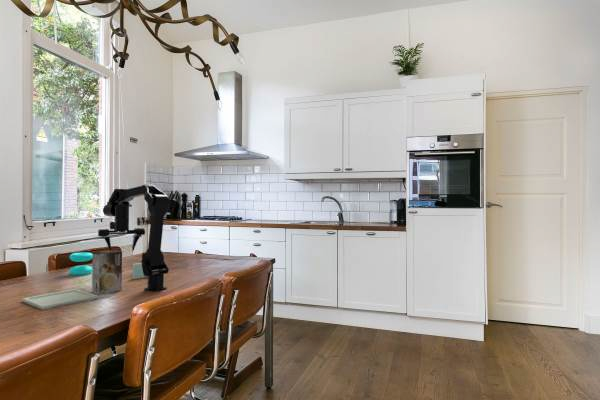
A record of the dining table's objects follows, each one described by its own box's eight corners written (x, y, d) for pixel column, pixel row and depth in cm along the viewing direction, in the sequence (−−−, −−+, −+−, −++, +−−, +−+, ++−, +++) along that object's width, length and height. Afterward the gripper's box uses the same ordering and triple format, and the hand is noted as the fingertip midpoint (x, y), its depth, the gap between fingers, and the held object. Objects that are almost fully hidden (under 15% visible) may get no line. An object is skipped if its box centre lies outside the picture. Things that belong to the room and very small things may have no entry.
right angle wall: (145, 273, 189) (145, 258, 189) (157, 276, 181) (157, 261, 181) (121, 276, 179) (122, 261, 180) (133, 280, 172) (134, 264, 172)
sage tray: (97, 298, 138) (97, 295, 138) (42, 309, 123) (42, 306, 123) (76, 291, 147) (76, 288, 147) (22, 301, 132) (22, 298, 132)
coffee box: (114, 287, 154) (115, 249, 154) (122, 290, 150) (122, 251, 150) (91, 292, 147) (92, 251, 147) (98, 294, 143) (99, 253, 143)
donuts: (90, 254, 177) (66, 255, 174) (89, 275, 177) (66, 276, 174) (95, 251, 187) (72, 252, 184) (94, 271, 187) (72, 272, 184)
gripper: (141, 215, 178) (140, 248, 178) (97, 216, 168) (96, 250, 168) (145, 216, 168) (145, 250, 168) (99, 217, 158) (98, 253, 158)
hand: (121, 251), depth 166 cm, fingers open, 9 cm apart
